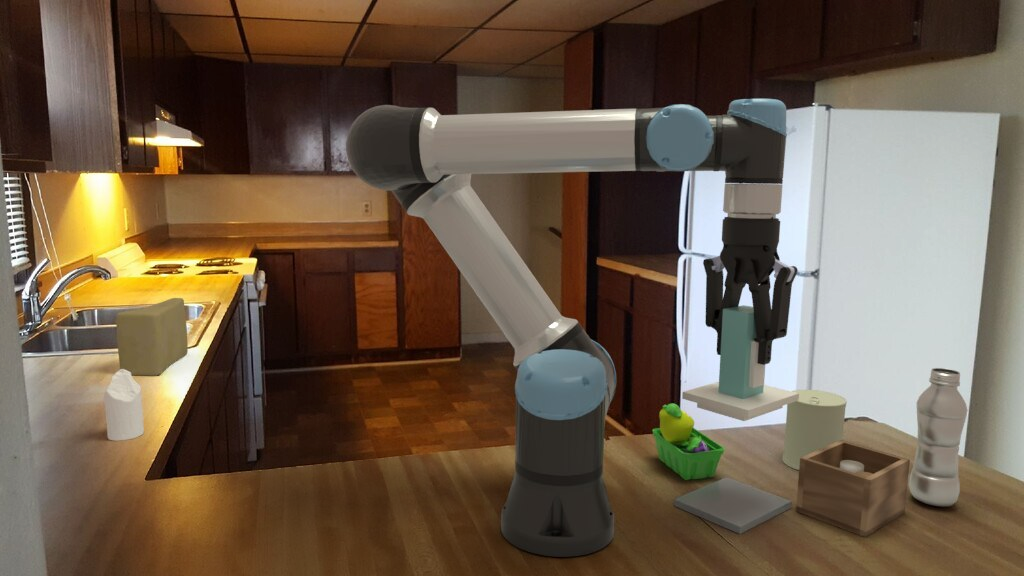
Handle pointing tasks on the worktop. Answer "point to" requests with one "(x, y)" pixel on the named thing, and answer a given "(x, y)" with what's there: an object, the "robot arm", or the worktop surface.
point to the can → (812, 424)
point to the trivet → (733, 504)
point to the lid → (738, 374)
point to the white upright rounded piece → (123, 407)
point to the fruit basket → (685, 445)
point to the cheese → (152, 337)
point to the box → (852, 487)
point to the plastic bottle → (938, 440)
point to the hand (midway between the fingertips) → (741, 381)
